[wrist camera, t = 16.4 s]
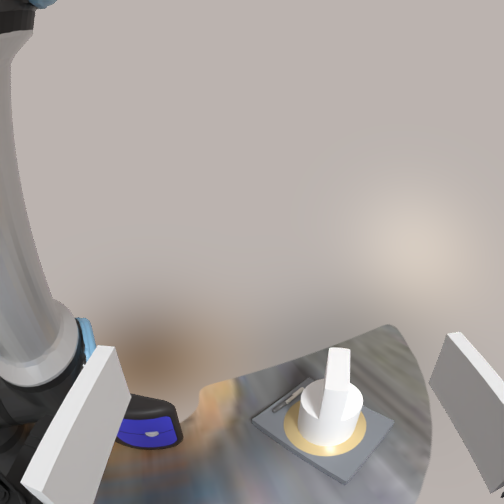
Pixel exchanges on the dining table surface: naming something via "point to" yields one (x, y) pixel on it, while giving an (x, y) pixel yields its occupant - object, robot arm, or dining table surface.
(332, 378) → the base with upright slab
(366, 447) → the plate
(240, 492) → the dining table surface
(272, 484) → the dining table surface
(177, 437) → the black two-tone rounded device
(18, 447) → the robot arm
